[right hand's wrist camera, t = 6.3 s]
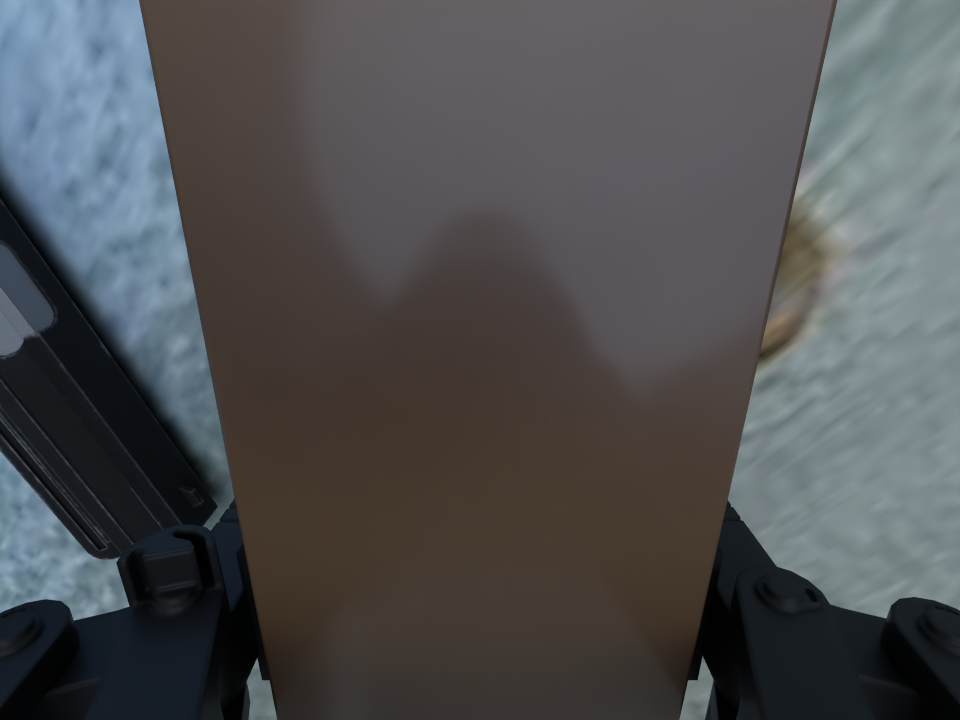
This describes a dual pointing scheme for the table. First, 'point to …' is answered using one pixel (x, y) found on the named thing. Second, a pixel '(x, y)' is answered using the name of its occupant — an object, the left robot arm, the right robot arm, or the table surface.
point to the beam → (483, 327)
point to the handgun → (81, 416)
